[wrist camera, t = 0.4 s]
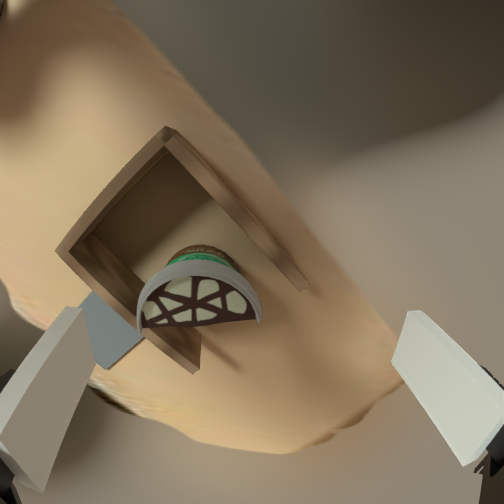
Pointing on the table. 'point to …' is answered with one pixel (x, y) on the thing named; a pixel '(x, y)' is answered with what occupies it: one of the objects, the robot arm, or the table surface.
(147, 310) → the food container
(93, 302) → the pad
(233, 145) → the table surface
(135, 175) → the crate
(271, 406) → the table surface
